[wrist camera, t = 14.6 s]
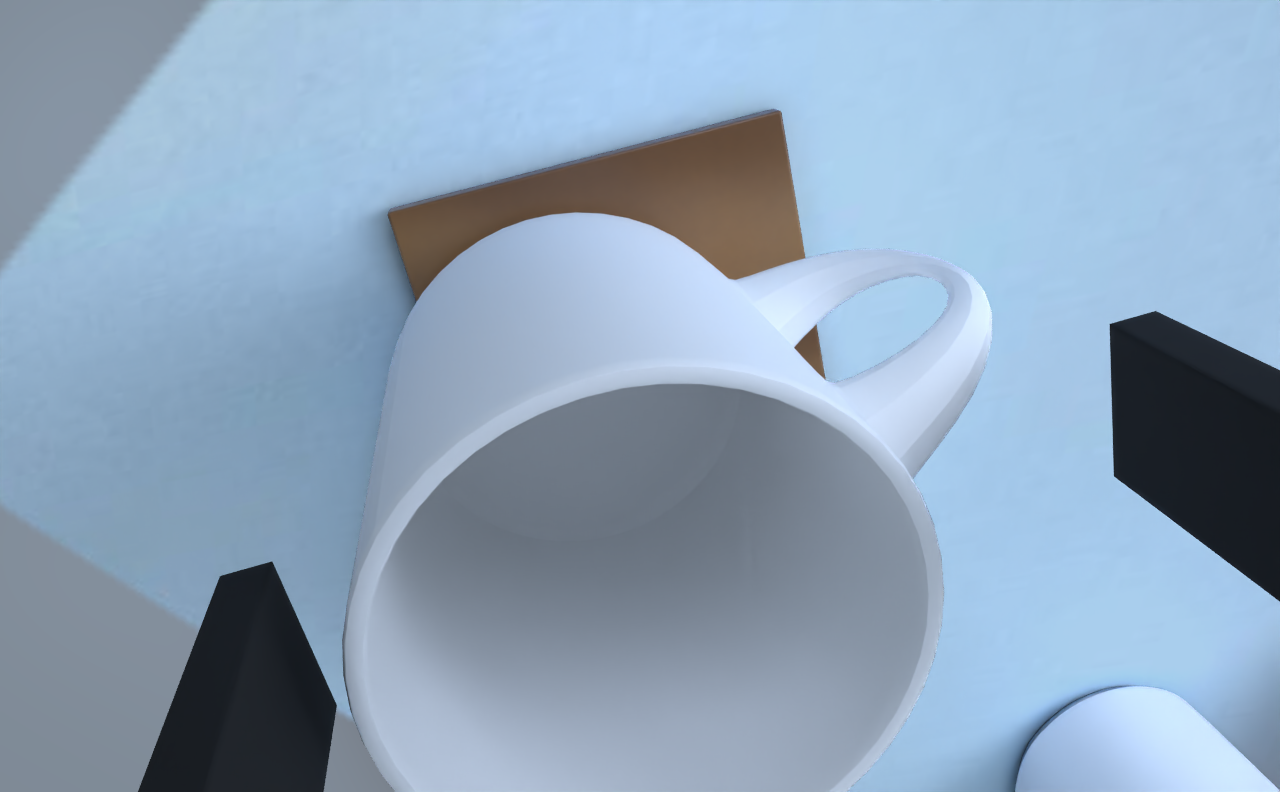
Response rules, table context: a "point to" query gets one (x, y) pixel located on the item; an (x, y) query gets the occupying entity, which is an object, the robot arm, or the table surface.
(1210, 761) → the can
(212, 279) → the table surface
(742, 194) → the coaster
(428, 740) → the mug
